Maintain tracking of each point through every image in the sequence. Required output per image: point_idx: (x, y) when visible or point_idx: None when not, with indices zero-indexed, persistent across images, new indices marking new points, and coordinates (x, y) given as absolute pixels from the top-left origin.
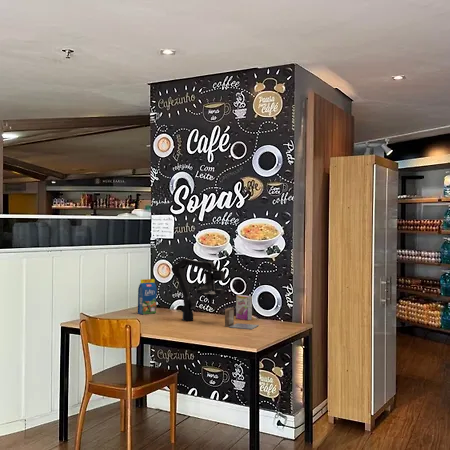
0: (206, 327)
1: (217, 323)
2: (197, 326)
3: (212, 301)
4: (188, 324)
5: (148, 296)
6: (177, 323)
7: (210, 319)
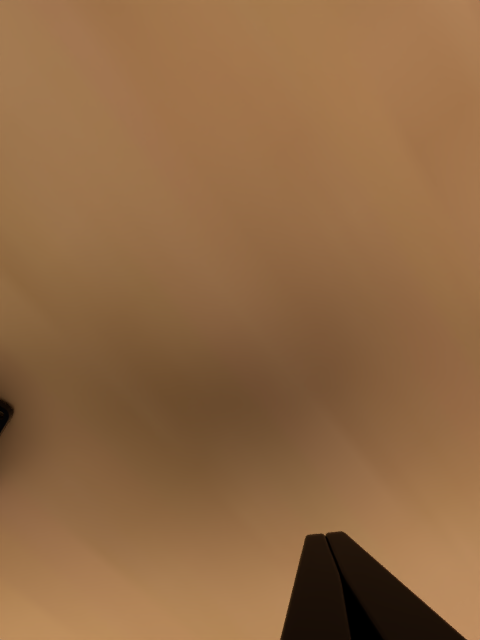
0: None
1: (358, 341)
2: None
3: (400, 595)
4: (161, 603)
5: None
6: (33, 634)
7: (59, 109)
